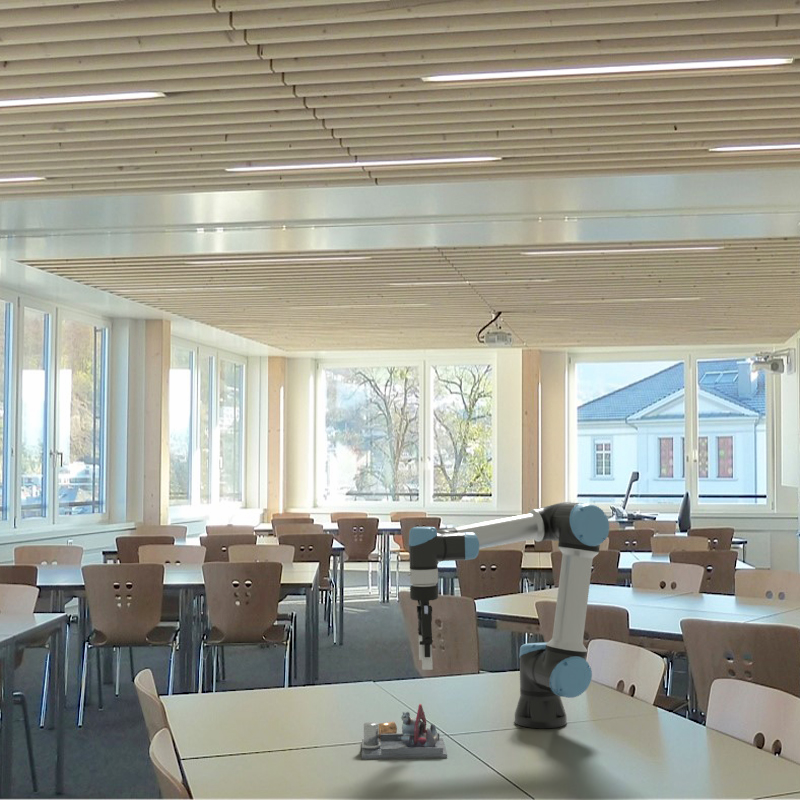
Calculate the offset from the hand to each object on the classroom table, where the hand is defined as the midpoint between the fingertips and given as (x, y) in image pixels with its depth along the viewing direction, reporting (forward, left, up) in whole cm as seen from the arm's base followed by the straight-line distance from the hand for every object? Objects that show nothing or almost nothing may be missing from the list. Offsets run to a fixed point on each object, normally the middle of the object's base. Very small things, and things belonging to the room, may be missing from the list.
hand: (425, 664), depth 290 cm
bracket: (+6, +2, -22) cm, 23 cm away
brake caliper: (+2, +1, -21) cm, 21 cm away
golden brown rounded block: (+11, -14, -22) cm, 29 cm away
